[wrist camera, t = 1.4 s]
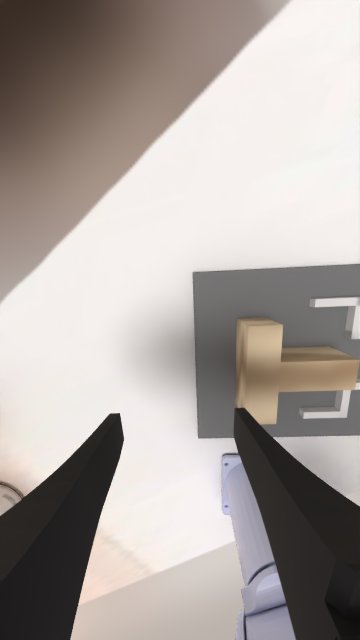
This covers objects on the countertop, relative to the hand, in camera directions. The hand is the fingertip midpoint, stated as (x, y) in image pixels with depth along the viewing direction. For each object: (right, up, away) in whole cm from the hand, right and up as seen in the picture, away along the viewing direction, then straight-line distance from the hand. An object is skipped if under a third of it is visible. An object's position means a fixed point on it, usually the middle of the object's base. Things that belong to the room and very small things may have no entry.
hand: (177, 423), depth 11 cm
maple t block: (+11, +2, +9) cm, 14 cm away
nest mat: (+14, +2, +9) cm, 17 cm away
